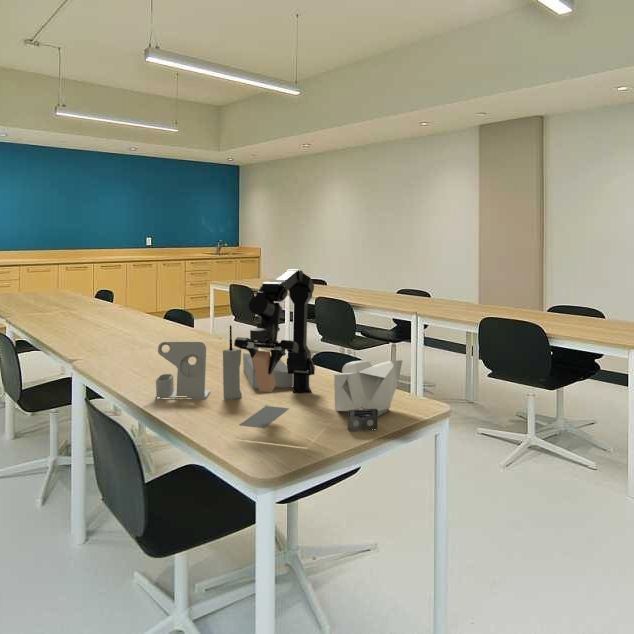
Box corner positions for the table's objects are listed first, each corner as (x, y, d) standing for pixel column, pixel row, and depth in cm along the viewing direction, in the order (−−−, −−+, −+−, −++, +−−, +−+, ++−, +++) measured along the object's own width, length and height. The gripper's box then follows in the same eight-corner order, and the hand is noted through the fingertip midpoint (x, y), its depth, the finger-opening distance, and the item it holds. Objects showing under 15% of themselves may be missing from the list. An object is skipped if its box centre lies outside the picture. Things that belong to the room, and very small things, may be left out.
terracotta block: (263, 382, 174) (257, 350, 168) (276, 383, 173) (269, 351, 167) (259, 390, 171) (252, 358, 165) (271, 392, 170) (264, 359, 163)
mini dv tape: (376, 428, 162) (376, 408, 161) (377, 430, 160) (377, 409, 160) (347, 429, 161) (348, 409, 160) (348, 431, 159) (349, 410, 158)
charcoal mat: (265, 407, 182) (265, 405, 182) (289, 409, 179) (289, 408, 179) (238, 426, 163) (238, 425, 163) (264, 429, 160) (264, 427, 160)
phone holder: (153, 399, 190) (152, 346, 187) (161, 391, 200) (159, 341, 197) (206, 399, 190) (205, 346, 188) (210, 391, 200) (209, 341, 198)
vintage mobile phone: (241, 397, 192) (241, 324, 189) (231, 401, 188) (230, 326, 185) (233, 396, 194) (232, 323, 191) (223, 399, 190) (222, 325, 187)
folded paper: (329, 358, 174) (368, 373, 161) (384, 350, 189) (424, 363, 176) (326, 411, 177) (363, 430, 164) (380, 398, 192) (419, 414, 179)
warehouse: (292, 388, 207) (292, 367, 206) (253, 390, 204) (253, 369, 203) (278, 369, 236) (278, 351, 235) (243, 371, 232) (243, 353, 231)
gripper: (230, 314, 166) (222, 367, 163) (289, 317, 160) (283, 372, 157) (245, 323, 176) (238, 372, 173) (301, 326, 171) (295, 377, 168)
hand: (262, 373), depth 168 cm, fingers closed on terracotta block, 4 cm apart
